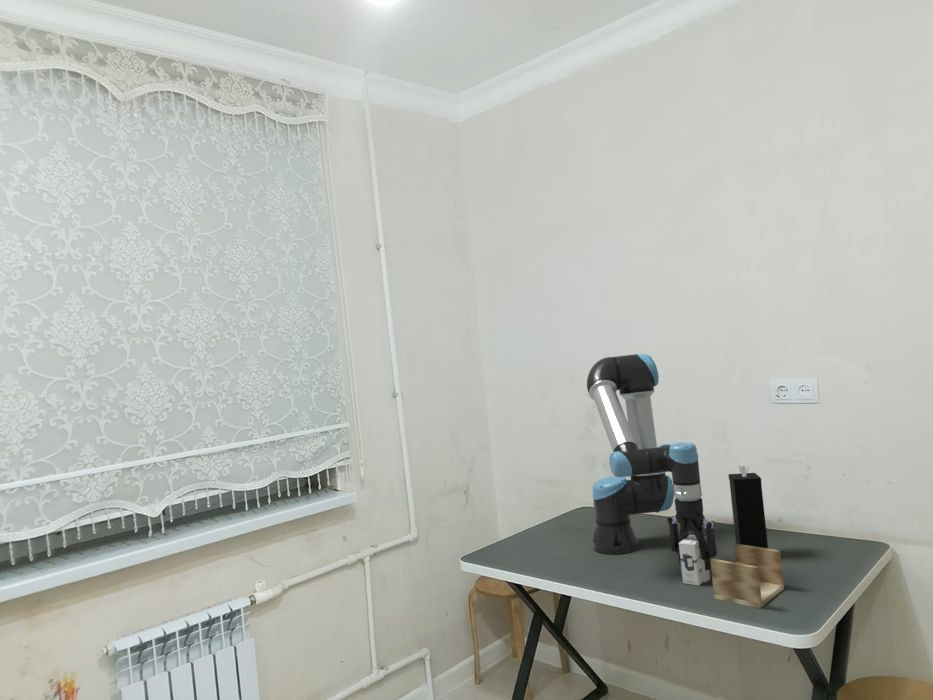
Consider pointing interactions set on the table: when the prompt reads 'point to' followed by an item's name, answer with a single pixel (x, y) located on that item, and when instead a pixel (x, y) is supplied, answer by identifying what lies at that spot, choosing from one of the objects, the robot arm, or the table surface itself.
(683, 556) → the ink box
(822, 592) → the table surface
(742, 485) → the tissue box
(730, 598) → the holder
